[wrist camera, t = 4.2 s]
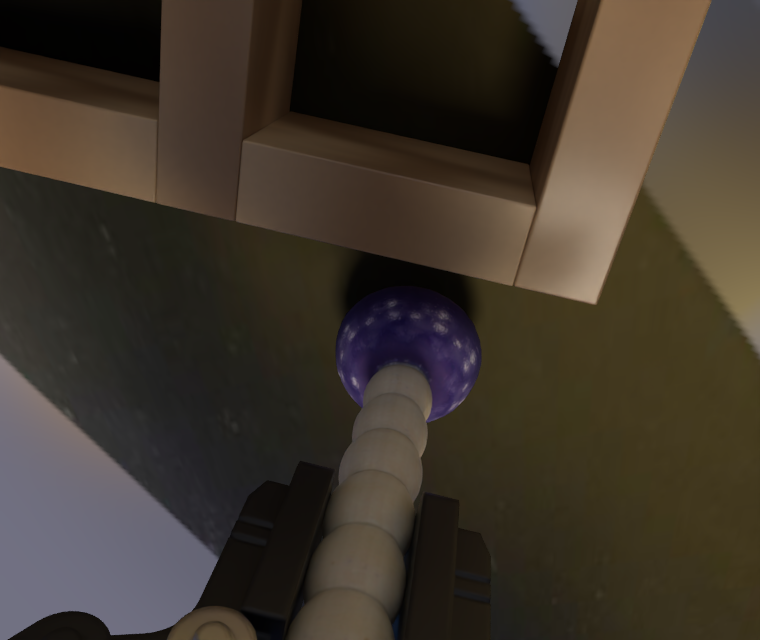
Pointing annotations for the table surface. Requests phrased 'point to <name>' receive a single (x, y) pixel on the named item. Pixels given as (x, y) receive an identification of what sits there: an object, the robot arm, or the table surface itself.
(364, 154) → the socket block
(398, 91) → the table surface
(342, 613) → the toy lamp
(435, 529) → the robot arm
